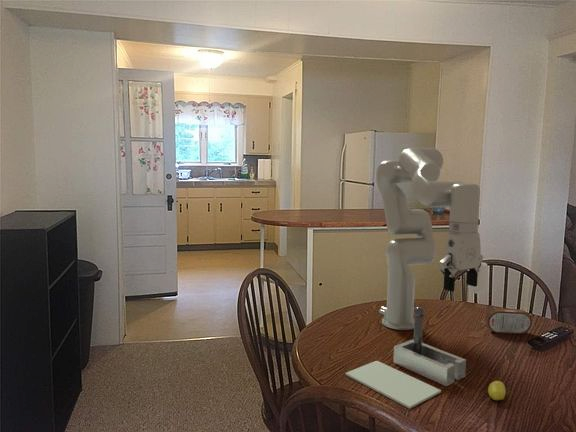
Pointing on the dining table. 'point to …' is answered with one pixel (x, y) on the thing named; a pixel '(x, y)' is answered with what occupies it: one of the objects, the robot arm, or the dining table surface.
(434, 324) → the dining table surface
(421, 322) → the stand
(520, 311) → the tin
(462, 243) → the robot arm
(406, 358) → the c link
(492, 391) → the lemon
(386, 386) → the mat
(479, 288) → the cup
